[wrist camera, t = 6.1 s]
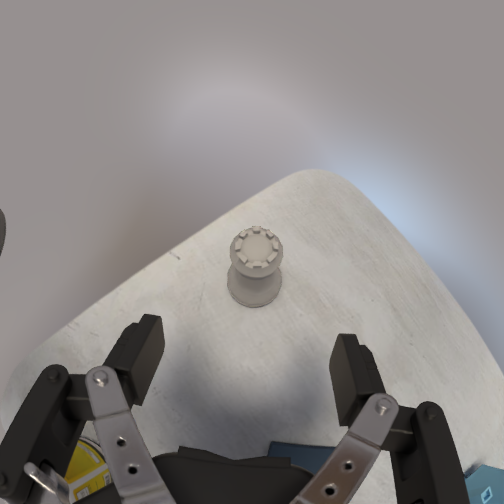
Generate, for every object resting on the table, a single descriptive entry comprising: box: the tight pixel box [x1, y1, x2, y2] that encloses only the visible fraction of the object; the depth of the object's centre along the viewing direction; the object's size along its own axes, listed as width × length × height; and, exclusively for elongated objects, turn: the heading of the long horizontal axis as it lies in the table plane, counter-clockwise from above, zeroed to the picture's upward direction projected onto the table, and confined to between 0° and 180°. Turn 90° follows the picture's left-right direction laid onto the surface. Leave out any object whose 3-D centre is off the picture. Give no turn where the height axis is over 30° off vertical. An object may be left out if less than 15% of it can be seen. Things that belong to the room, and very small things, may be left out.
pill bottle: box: [3, 437, 113, 504], centre depth 12 cm, size 6×6×11 cm
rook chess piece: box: [228, 226, 283, 307], centre depth 20 cm, size 4×4×8 cm
